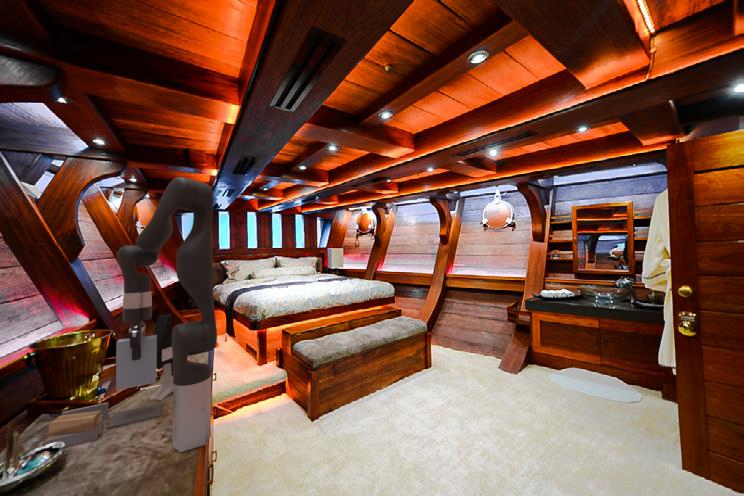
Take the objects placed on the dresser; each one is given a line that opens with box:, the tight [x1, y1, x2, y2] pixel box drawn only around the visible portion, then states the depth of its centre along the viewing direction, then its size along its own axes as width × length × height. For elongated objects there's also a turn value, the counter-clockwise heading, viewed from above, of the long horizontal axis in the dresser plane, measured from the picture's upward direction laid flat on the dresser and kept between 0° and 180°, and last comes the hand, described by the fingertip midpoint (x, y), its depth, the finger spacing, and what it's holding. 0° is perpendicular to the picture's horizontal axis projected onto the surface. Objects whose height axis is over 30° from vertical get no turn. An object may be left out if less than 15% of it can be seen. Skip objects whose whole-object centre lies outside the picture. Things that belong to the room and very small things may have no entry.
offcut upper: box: [48, 411, 102, 437], centre depth 84 cm, size 4×10×4 cm, turn 106°
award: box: [149, 314, 173, 401], centre depth 113 cm, size 15×5×30 cm, turn 168°
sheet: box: [115, 334, 158, 391], centre depth 97 cm, size 4×10×15 cm, turn 122°
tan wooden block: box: [44, 401, 109, 448], centre depth 88 cm, size 13×11×5 cm
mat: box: [106, 402, 163, 431], centre depth 97 cm, size 10×13×1 cm
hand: (137, 357), depth 97 cm, fingers closed on sheet, 4 cm apart
